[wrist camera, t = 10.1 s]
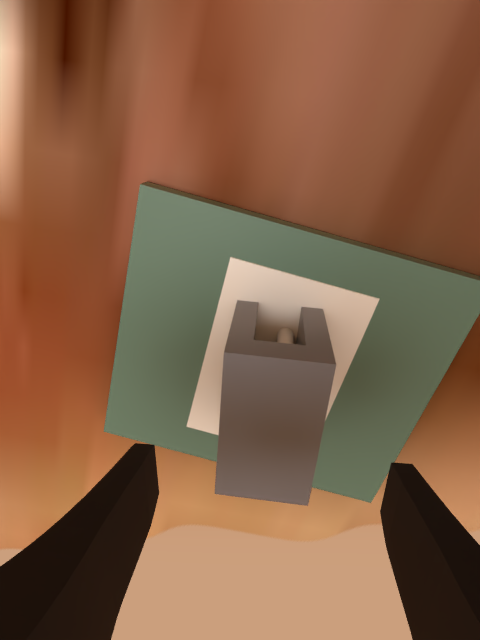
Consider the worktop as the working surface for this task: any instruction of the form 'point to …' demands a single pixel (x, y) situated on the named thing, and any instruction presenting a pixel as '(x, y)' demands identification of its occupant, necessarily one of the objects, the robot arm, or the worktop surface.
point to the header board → (279, 329)
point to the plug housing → (273, 408)
